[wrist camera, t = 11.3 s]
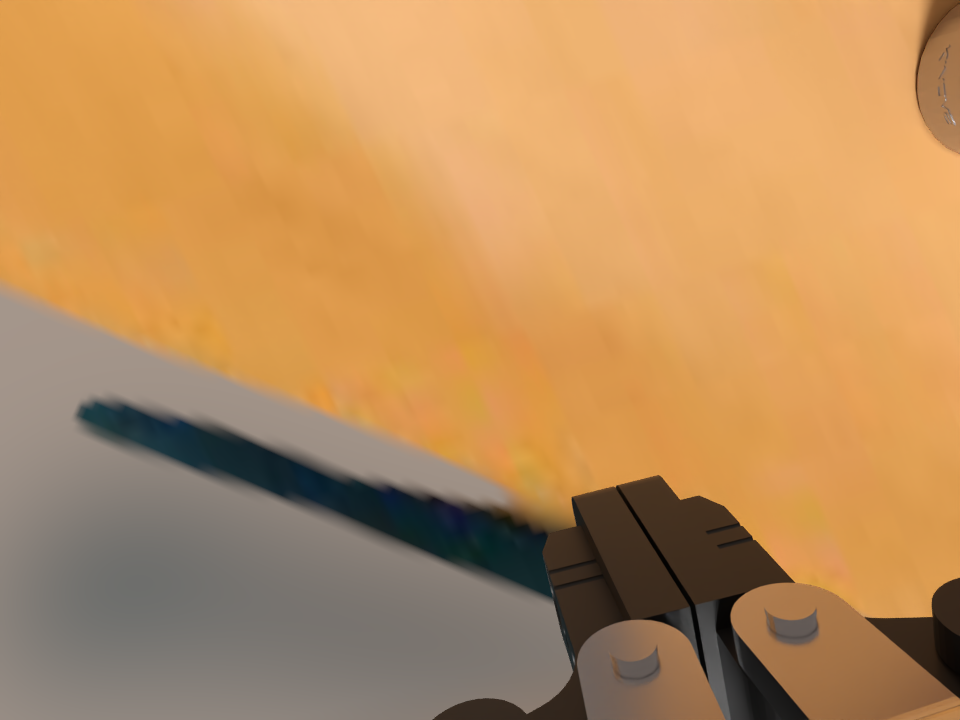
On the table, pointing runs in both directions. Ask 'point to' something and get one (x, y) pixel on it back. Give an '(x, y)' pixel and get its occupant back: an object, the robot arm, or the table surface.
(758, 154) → the table surface
